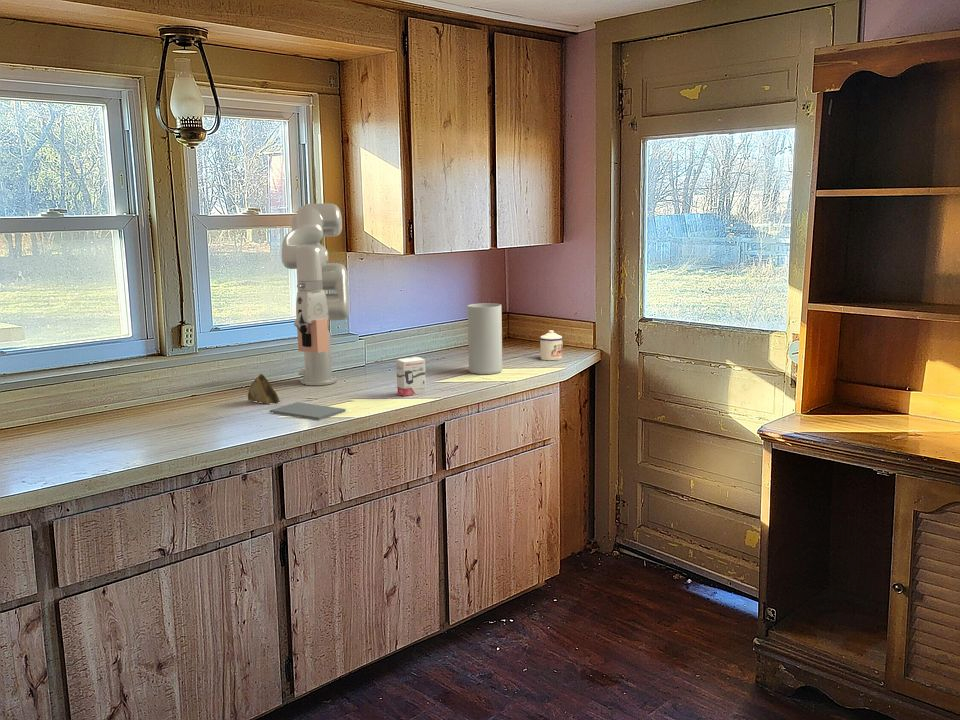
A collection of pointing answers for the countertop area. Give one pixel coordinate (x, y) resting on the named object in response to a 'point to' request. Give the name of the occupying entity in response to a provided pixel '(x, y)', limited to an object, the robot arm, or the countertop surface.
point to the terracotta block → (316, 337)
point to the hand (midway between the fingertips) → (313, 344)
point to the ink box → (411, 376)
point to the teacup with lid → (551, 346)
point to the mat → (308, 410)
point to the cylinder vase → (485, 338)
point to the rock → (262, 391)
